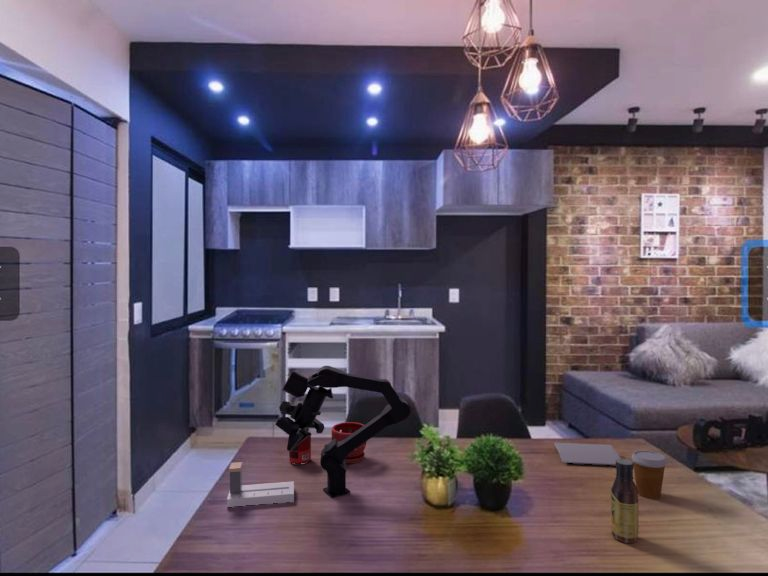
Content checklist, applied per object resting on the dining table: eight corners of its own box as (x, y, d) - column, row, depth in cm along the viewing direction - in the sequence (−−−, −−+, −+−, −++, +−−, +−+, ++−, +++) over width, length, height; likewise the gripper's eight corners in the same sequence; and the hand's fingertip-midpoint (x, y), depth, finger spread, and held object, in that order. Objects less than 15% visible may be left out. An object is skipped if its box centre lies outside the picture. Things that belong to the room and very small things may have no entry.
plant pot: (325, 464, 173) (325, 430, 173) (339, 451, 186) (339, 420, 185) (360, 468, 169) (360, 433, 169) (372, 455, 182) (372, 423, 182)
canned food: (313, 457, 179) (313, 427, 179) (307, 465, 171) (307, 434, 171) (293, 456, 180) (292, 427, 180) (286, 465, 172) (286, 434, 172)
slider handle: (242, 486, 147) (242, 462, 147) (240, 493, 143) (240, 468, 142) (231, 487, 147) (231, 462, 147) (229, 494, 142) (229, 468, 142)
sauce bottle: (614, 529, 127) (614, 454, 127) (640, 537, 123) (641, 459, 123) (607, 539, 122) (607, 461, 122) (634, 548, 118) (635, 467, 118)
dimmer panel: (294, 489, 152) (293, 481, 152) (294, 502, 143) (293, 493, 143) (231, 494, 149) (230, 486, 149) (227, 507, 140) (226, 499, 140)
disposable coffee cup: (630, 497, 146) (631, 457, 146) (631, 485, 154) (631, 447, 154) (667, 504, 141) (667, 463, 141) (665, 491, 150) (666, 452, 150)
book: (549, 451, 187) (549, 441, 187) (612, 453, 184) (612, 443, 184) (558, 466, 171) (558, 455, 171) (627, 469, 168) (627, 458, 168)
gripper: (309, 393, 161) (288, 435, 161) (275, 390, 145) (251, 437, 144) (334, 410, 156) (312, 453, 155) (302, 409, 139) (277, 458, 139)
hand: (288, 450), depth 149 cm, fingers closed
